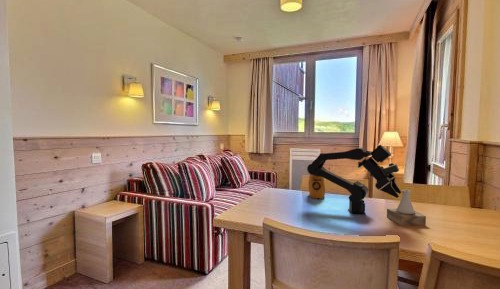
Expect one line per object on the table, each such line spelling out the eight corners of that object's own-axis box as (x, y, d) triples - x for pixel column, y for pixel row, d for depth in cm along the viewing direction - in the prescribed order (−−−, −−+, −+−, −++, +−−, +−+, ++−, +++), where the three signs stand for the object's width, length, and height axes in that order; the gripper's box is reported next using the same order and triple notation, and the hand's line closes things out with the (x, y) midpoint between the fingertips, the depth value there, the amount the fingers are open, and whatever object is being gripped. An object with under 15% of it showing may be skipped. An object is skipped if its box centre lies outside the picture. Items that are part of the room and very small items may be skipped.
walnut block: (400, 225, 113) (400, 216, 112) (386, 216, 124) (387, 208, 123) (425, 225, 113) (425, 216, 112) (409, 216, 124) (410, 208, 123)
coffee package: (307, 198, 157) (308, 162, 155) (308, 193, 169) (309, 159, 167) (324, 199, 154) (325, 162, 153) (324, 194, 166) (325, 160, 165)
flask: (392, 211, 119) (393, 189, 119) (402, 208, 123) (402, 188, 122) (408, 215, 113) (409, 193, 113) (418, 213, 117) (419, 191, 116)
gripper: (384, 159, 114) (413, 188, 108) (390, 156, 129) (416, 181, 123) (364, 175, 119) (390, 203, 113) (372, 170, 134) (396, 195, 128)
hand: (399, 195), depth 119 cm, fingers open, 9 cm apart
